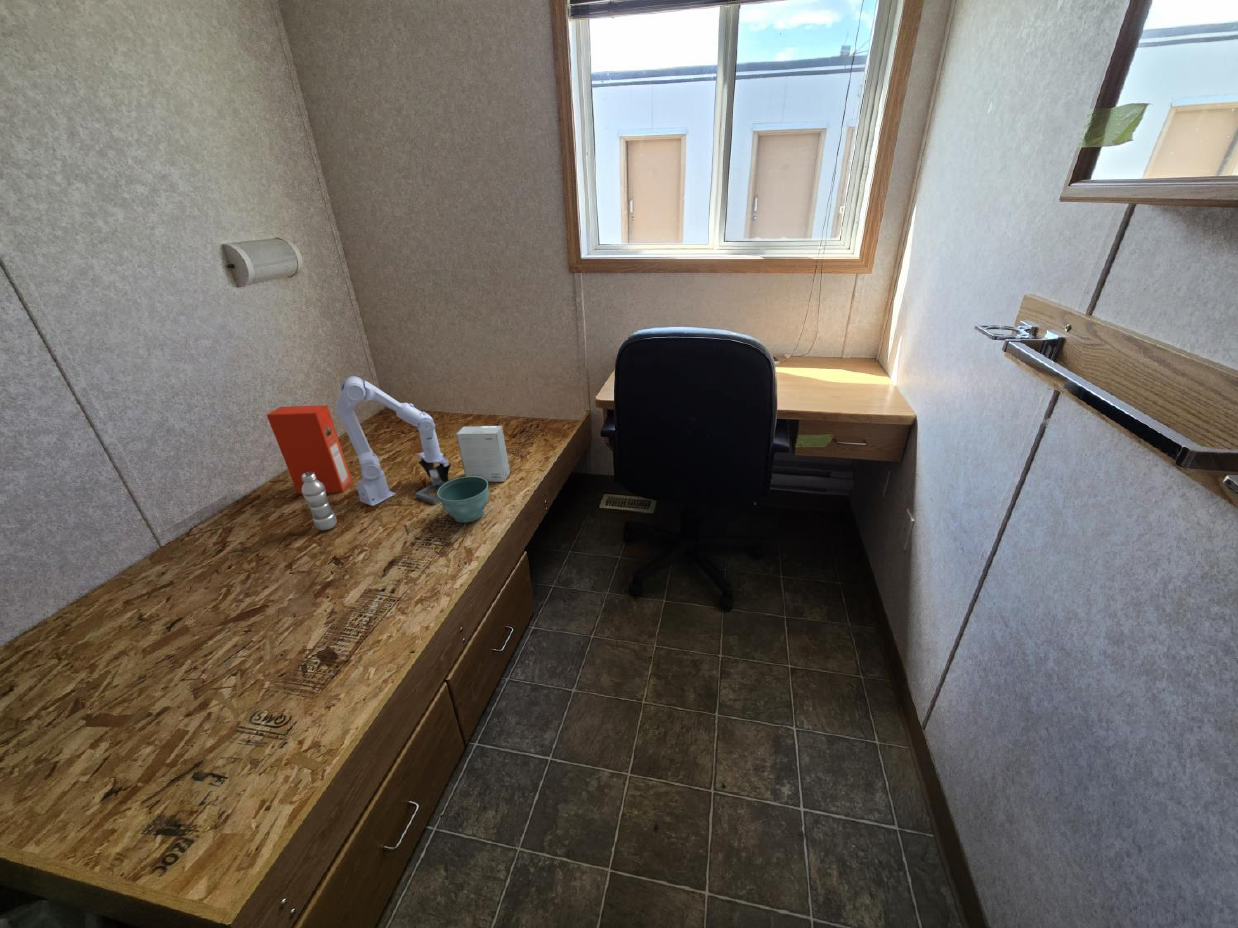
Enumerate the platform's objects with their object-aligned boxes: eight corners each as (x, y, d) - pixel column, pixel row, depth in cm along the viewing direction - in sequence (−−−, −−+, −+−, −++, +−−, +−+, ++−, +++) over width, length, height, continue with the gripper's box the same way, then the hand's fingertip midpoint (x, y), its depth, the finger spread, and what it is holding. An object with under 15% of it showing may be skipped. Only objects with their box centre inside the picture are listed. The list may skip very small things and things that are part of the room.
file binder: (342, 493, 187) (315, 413, 172) (297, 494, 187) (266, 414, 173) (353, 482, 194) (327, 404, 179) (309, 483, 195) (280, 406, 180)
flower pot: (433, 522, 166) (426, 494, 161) (467, 499, 179) (461, 472, 174) (470, 533, 159) (463, 504, 154) (503, 509, 172) (498, 481, 167)
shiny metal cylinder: (438, 486, 188) (435, 472, 185) (429, 483, 190) (426, 470, 188) (448, 481, 192) (445, 467, 189) (440, 478, 194) (436, 464, 191)
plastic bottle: (329, 533, 163) (309, 480, 154) (311, 532, 164) (290, 478, 155) (343, 522, 168) (324, 470, 159) (325, 521, 170) (306, 469, 161)
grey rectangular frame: (434, 505, 176) (433, 500, 175) (416, 498, 181) (415, 493, 180) (456, 492, 183) (455, 487, 183) (438, 485, 188) (437, 481, 187)
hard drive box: (510, 472, 195) (503, 425, 186) (505, 482, 189) (496, 434, 180) (472, 472, 197) (463, 425, 188) (465, 481, 190) (455, 434, 181)
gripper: (452, 446, 183) (459, 478, 190) (426, 438, 190) (434, 470, 197) (437, 453, 178) (444, 486, 184) (411, 445, 185) (419, 477, 191)
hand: (438, 478), depth 190 cm, fingers open, 7 cm apart
